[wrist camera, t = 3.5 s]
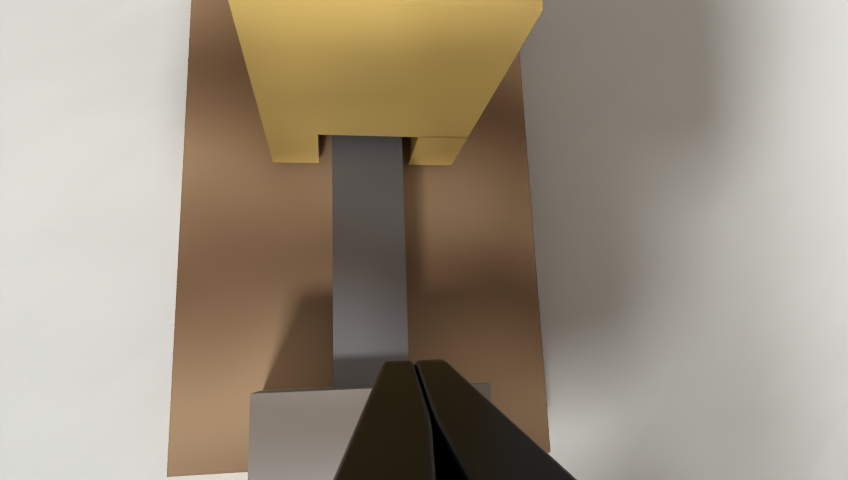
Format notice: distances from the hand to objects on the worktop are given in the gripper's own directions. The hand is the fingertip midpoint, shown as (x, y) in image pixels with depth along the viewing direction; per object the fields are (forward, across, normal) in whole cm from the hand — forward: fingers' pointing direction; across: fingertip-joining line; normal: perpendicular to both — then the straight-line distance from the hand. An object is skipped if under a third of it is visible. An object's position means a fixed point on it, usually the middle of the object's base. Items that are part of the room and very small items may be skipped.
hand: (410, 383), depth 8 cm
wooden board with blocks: (+14, 0, -2) cm, 14 cm away
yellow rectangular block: (+13, 0, -1) cm, 13 cm away
